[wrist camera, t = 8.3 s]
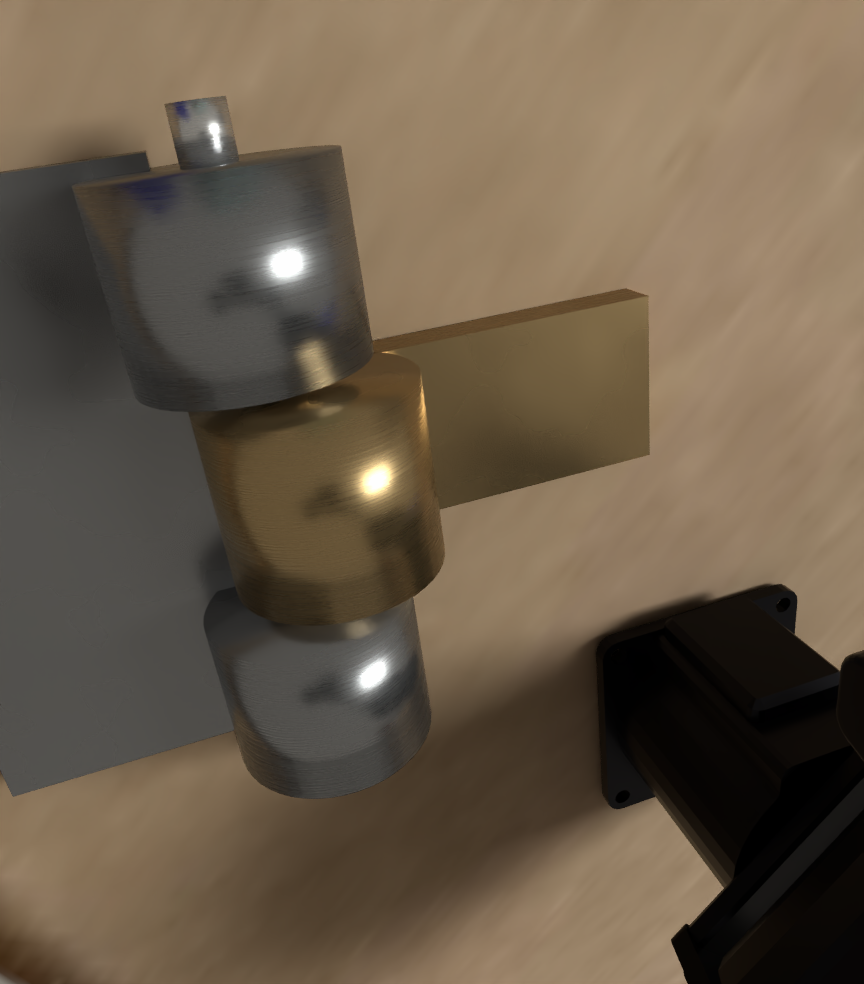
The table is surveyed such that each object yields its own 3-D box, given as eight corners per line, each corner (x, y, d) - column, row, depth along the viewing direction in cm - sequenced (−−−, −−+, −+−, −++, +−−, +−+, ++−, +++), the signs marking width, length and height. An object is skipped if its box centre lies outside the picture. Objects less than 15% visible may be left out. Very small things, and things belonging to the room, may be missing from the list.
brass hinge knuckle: (629, 441, 22) (737, 511, 18) (226, 544, 19) (248, 651, 15) (625, 288, 20) (745, 328, 16) (183, 380, 17) (194, 454, 14)
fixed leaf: (407, 675, 22) (462, 792, 18) (28, 788, 20) (-1, 948, 16) (306, 87, 16) (357, 76, 12) (-260, 163, 14) (-422, 178, 10)
